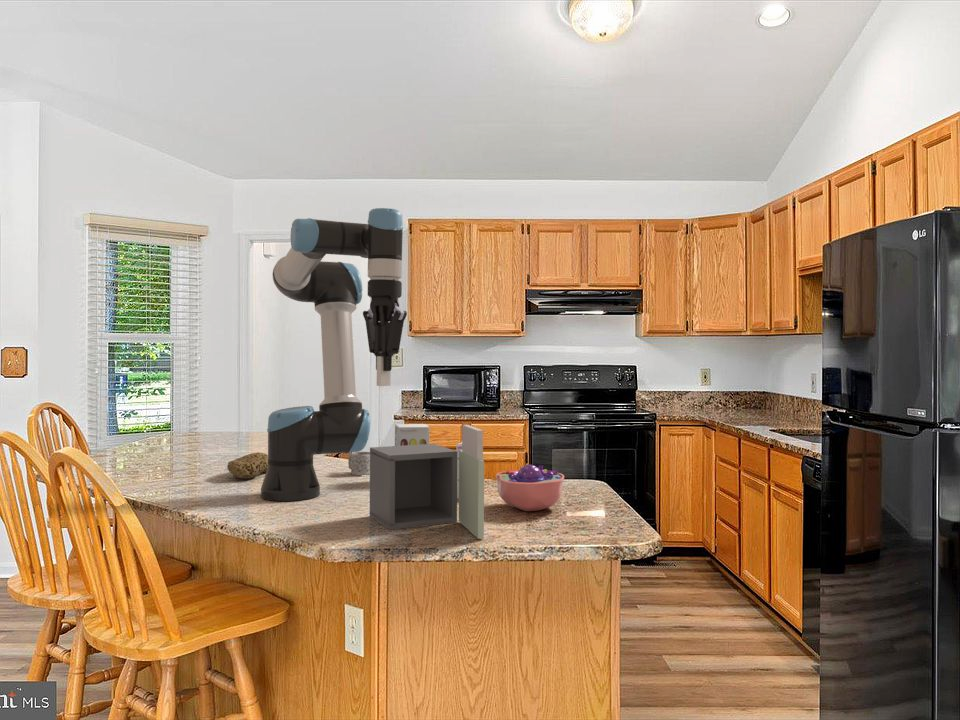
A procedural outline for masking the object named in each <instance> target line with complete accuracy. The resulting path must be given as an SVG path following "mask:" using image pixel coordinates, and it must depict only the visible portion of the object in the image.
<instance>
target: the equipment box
mask: <svg viewBox="0 0 960 720" xmlns="http://www.w3.org/2000/svg"><path fill="white" fill-rule="evenodd" d="M369 452H370V476H369V517H370V518H372V519H373V520H374V521H376V522H377V523H378V524H381V525H382V526H383V527H385V528H386V529H387V530H389V531H391V530H399V529H407V528H409V529H410V528H417V527H425V526H427V527H428V526H436V525H443V524H454V523H458V499H457V451H456V449H455V450H454V449H452V448H448V447H445V446H441V445H439V444H435V443H429V444H422V445H405V446H395V445H388V446H374V447H369Z"/></svg>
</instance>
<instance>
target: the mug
mask: <svg viewBox="0 0 960 720" xmlns="http://www.w3.org/2000/svg"><path fill="white" fill-rule="evenodd" d="M347 461H348V468H349V470H350V472H351V473H350V475H351V476H352V475H357V476H356V477H363V476H362V475H370V451H359V452H350V454H349V455H348V460H347ZM358 475H359V476H358Z"/></svg>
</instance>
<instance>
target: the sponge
mask: <svg viewBox="0 0 960 720" xmlns="http://www.w3.org/2000/svg"><path fill="white" fill-rule="evenodd" d="M226 467H227V470H228V472H229V473H230V474H231V475H232V476H233V477H235V478H238V479H241V480H248V479H249V480H250V479H254V478H256V477H258V476H260V475H261V474H262V473H266V472H267V469H268V453H264V452H252V453H248V454H246V455H242V457H238V458H236V459H233V460H230V461H228V464H227V466H226Z"/></svg>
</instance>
